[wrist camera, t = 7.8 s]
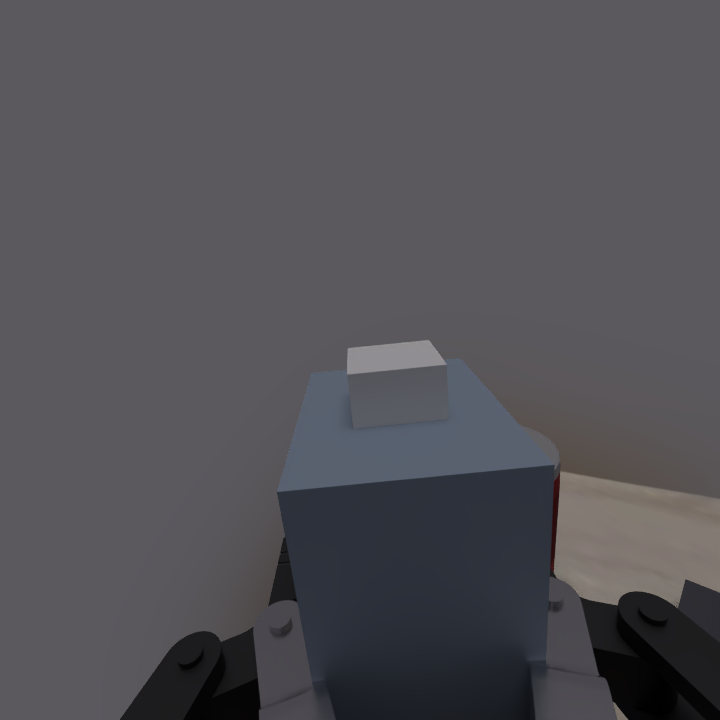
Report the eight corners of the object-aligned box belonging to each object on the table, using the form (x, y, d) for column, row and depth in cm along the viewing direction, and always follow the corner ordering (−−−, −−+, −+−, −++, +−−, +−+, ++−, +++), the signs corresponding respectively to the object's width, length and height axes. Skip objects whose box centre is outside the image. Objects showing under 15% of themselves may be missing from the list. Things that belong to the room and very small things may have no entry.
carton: (469, 655, 16) (459, 319, 12) (535, 893, 10) (557, 396, 6) (351, 666, 16) (304, 334, 12) (351, 909, 10) (260, 425, 6)
